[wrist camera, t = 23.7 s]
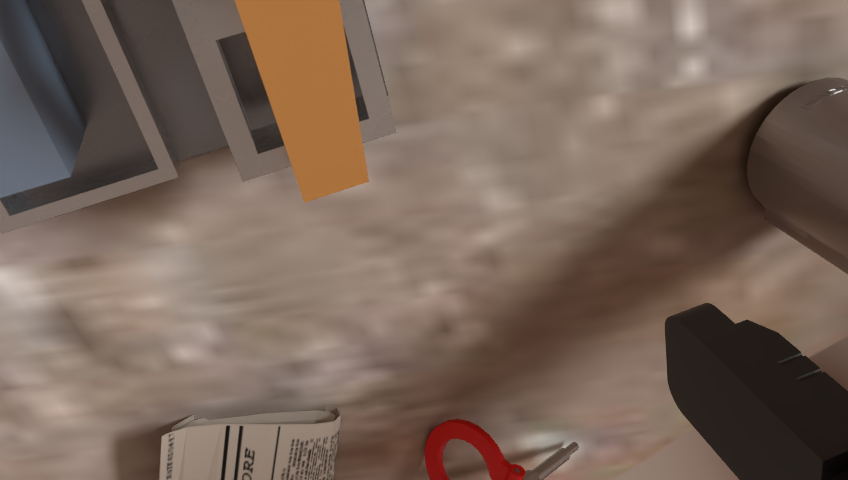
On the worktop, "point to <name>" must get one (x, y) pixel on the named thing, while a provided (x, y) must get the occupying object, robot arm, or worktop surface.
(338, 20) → the orange brown bar
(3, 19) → the blue rectangular block
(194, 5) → the gray desk organizer
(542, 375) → the worktop surface
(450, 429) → the tow hook
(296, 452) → the newspaper
